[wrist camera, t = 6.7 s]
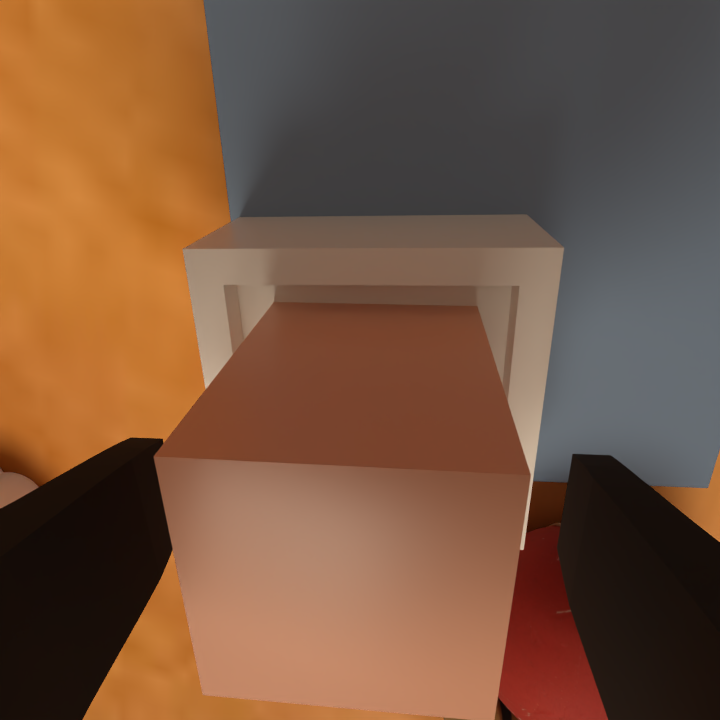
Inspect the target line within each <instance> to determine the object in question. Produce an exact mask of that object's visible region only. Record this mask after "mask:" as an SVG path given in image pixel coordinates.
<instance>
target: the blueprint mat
mask: <svg viewBox="0 0 720 720" xmlns="http://www.w3.org/2000/svg"><path fill="white" fill-rule="evenodd" d="M204 8H205V16H206V24H207V32H208V40H209V48H210V56H211V64H212V72H213V80H214V88H215V97H216V105H217V113H218V121H219V129H220V137H221V145H222V153H223V161H224V169H225V177H226V185H227V194H228V202H229V210H230V218H231V222H232V221H233V220H235V219H237V218H239V217H304V216H408V215H513V214H527V215H528V216H529V217H530V218H531V219H533V220H534V221H535V222H536V223H537V224H538V225H539V226H540V227H542V228H543V229H544V230H545V231H546V232H547V233H548V234H549V235H551V236H552V237H553V238H554V239H555V240H556V241H557V242H558V243H560V244H561V245H562V246H563V247H564V253H563V260H562V268H561V275H560V283H559V290H558V297H557V305H556V312H555V320H554V327H553V335H552V342H551V350H550V357H549V365H548V372H547V380H546V387H545V394H544V402H543V409H542V417H541V424H540V432H539V439H538V447H537V454H536V462H535V469H534V477H533V481H542V482H568V478H569V472H570V466H571V460H572V454H593V455H611V456H613V457H614V458H615V459H617V460H618V461H619V462H621V463H622V464H623V465H624V466H626V467H627V468H628V469H629V470H631V471H632V472H633V473H634V474H636V475H637V476H638V477H639V478H640V479H642V480H643V481H644V482H645V483H647V484H648V485H649V486H670V487H695V488H708V486H709V483H710V479H711V476H712V473H713V470H714V466H715V463H716V460H717V456H718V453H719V450H720V0H204Z"/></svg>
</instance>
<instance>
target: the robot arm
mask: <svg viewBox="0 0 720 720" xmlns="http://www.w3.org/2000/svg"><path fill="white" fill-rule="evenodd" d="M162 445H163V439H154V438H129V439H127V440H125V441H122V442H120V443H118V444H116V445H114V446H112V447H110V448H108V449H106V450H105V451H103V452H101V453H99V454H97V455H95V456H93V457H92V458H90V459H88V460H86V461H85V462H83V463H81V464H79V465H77V466H76V467H74V468H72V469H70V470H69V471H67V472H65V473H63V474H62V475H60V476H58V477H56V478H54V479H53V480H51V481H49V482H47V483H46V484H44V485H42V486H40V487H39V488H37V489H35V490H33V491H31V492H30V493H28V494H26V495H24V496H23V497H21V498H19V499H17V500H15V501H14V502H12V503H10V504H8V505H6V506H4V507H2V508H0V720H82V719H83V718H84V716H85V714H86V712H87V710H88V708H89V706H90V704H91V702H92V700H93V699H94V697H95V695H96V693H97V692H98V690H99V688H100V686H101V684H102V683H103V681H104V679H105V677H106V676H107V674H108V672H109V670H110V668H111V667H112V665H113V663H114V661H115V660H116V658H117V656H118V654H119V653H120V651H121V649H122V647H123V645H124V644H125V642H126V640H127V638H128V637H129V635H130V633H131V631H132V630H133V628H134V626H135V624H136V622H137V621H138V619H139V617H140V615H141V613H142V612H143V610H144V608H145V606H146V604H147V603H148V601H149V599H150V597H151V595H152V594H153V592H154V590H155V588H156V586H157V584H158V582H159V581H160V579H161V576H162V574H163V572H164V569H165V567H166V564H167V562H168V560H169V557H170V555H171V552H172V550H173V548H172V543H171V539H170V534H169V529H168V524H167V519H166V514H165V510H164V505H163V500H162V495H161V490H160V485H159V481H158V476H157V471H156V466H155V461H154V455H155V454H156V453H157V451H158V450H159V449H160V448H161V446H162ZM557 551H558V556H559V561H560V566H561V571H562V576H563V580H564V585H565V589H566V594H567V598H568V603H569V606H570V609H571V613H572V616H573V619H574V622H575V625H576V628H577V630H578V633H579V636H580V639H581V642H582V645H583V648H584V651H585V654H586V657H587V660H588V663H589V666H590V668H591V671H592V674H593V677H594V680H595V683H596V686H597V689H598V692H599V694H600V697H601V700H602V703H603V706H604V709H605V712H606V715H607V718H608V720H720V542H719V541H717V540H716V539H715V538H713V537H712V536H711V535H710V534H708V533H707V532H706V531H704V530H703V529H702V528H701V527H699V526H698V525H697V524H696V523H694V522H693V521H692V520H691V519H689V518H688V517H687V516H686V515H684V514H683V513H682V512H681V511H679V510H678V509H677V508H676V507H675V506H673V505H672V504H671V503H670V502H668V501H667V500H666V499H665V498H664V497H662V496H661V495H660V494H659V493H657V492H656V491H655V490H654V489H653V488H651V487H650V486H649V485H648V484H647V483H645V482H644V481H643V480H642V479H640V478H639V477H638V476H637V475H636V474H634V473H633V472H632V471H631V470H629V469H628V468H627V467H626V466H624V465H623V464H622V463H621V462H619V461H618V460H617V459H615V458H614V457H613V456H611V455H593V454H572V460H571V466H570V472H569V478H568V484H567V490H566V496H565V502H564V508H563V514H562V520H561V526H560V532H559V538H558V544H557Z"/></svg>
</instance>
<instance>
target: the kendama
mask: <svg viewBox="0 0 720 720" xmlns="http://www.w3.org/2000/svg"><path fill="white" fill-rule="evenodd" d="M560 526H561V523H553V524H551V525H549V526H548V527H543V528H539V529H536V530H533V531H530V532H527V533H526V536H525V544H524V550H520V552H519V559H518V565H517V572H516V579H515V586H514V592H513V599H512V606H511V612H510V619H509V626H508V633H507V639H506V646H505V653H504V659H503V666H502V673H501V679H500V686H499V693H498V700H497V706H496V713H495V720H608V718H607V715H606V712H605V709H604V706H603V703H602V700H601V697H600V694H599V692H598V689H597V686H596V683H595V680H594V677H593V674H592V671H591V668H590V666H589V663H588V660H587V657H586V654H585V651H584V648H583V645H582V642H581V639H580V636H579V633H578V630H577V628H576V625H575V622H574V619H573V616H572V613H571V609H570V606H569V603H568V598H567V594H566V589H565V585H564V580H563V576H562V571H561V566H560V561H559V556H558V551H557V544H558V538H559V532H560ZM444 720H467V719H456V718H445V717H444Z"/></svg>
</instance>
